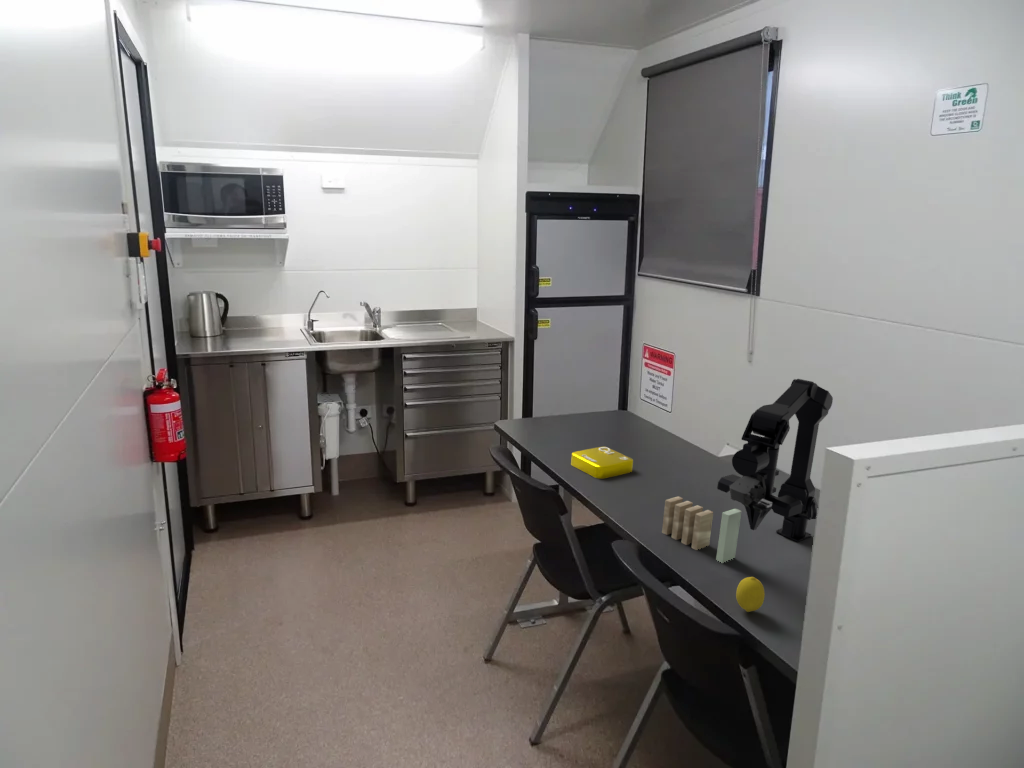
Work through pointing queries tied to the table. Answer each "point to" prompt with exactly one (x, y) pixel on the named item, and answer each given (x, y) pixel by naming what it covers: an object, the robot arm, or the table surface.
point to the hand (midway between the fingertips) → (753, 529)
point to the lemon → (750, 594)
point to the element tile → (601, 462)
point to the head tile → (728, 535)
